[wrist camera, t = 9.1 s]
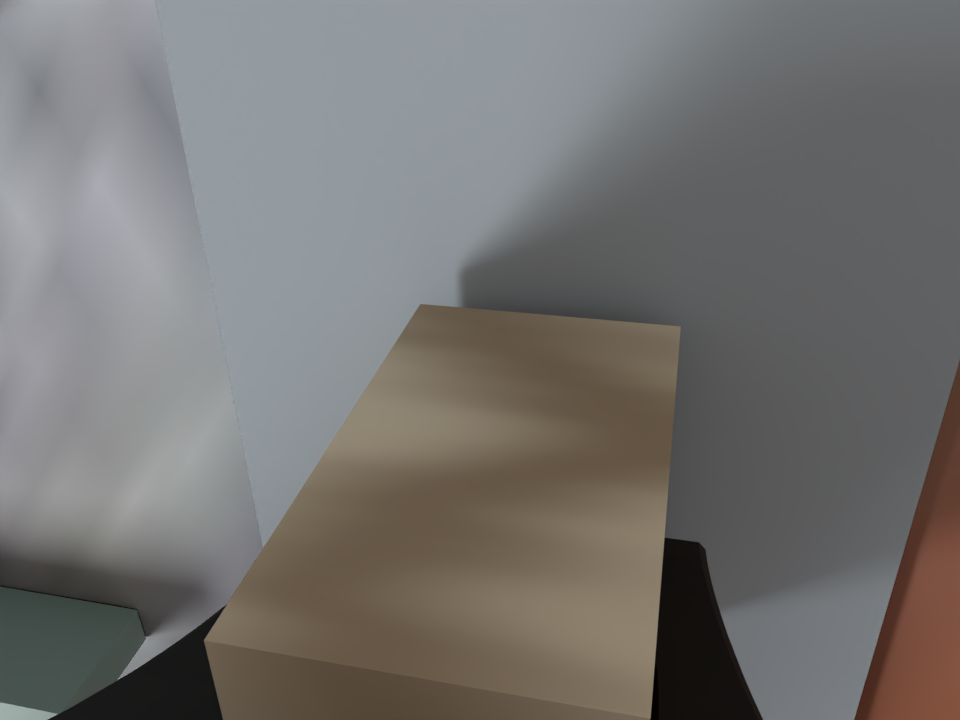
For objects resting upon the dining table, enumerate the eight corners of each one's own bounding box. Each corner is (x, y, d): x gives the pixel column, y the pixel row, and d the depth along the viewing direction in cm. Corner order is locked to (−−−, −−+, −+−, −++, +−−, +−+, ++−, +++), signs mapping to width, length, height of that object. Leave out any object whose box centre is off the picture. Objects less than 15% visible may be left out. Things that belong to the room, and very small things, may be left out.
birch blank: (680, 326, 13) (650, 718, 7) (645, 658, 17) (605, 1105, 11) (420, 303, 14) (204, 641, 8) (438, 625, 18) (296, 1023, 12)
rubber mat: (828, 775, 19) (831, 797, 19) (300, 680, 21) (292, 697, 21) (1064, -49, 11) (1077, -43, 10) (164, -52, 13) (146, -47, 13)
